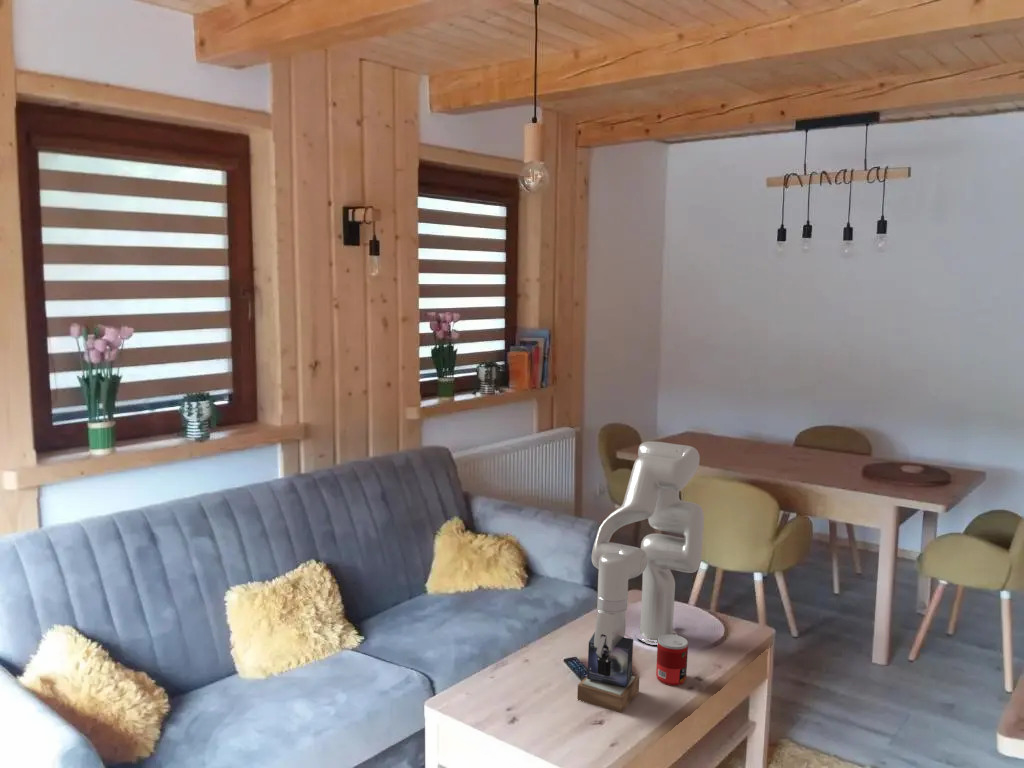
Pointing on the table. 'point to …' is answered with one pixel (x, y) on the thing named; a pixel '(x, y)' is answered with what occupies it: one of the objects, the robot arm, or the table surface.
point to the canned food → (672, 659)
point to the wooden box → (608, 693)
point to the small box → (612, 663)
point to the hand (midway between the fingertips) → (609, 668)
